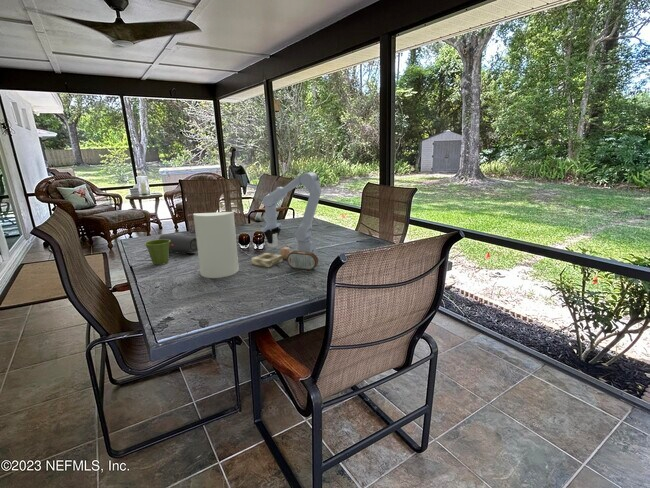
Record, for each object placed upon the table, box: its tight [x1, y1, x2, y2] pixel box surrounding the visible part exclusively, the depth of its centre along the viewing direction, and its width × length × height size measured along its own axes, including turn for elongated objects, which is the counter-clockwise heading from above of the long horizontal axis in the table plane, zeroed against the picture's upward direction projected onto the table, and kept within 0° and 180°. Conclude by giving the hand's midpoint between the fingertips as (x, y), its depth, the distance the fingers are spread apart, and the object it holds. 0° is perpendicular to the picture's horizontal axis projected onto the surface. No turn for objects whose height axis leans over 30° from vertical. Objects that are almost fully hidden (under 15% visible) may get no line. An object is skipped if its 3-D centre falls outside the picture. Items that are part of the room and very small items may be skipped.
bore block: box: [250, 252, 284, 268], centre depth 169 cm, size 11×11×3 cm
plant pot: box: [144, 238, 170, 265], centre depth 170 cm, size 12×12×11 cm
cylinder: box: [192, 211, 240, 279], centre depth 154 cm, size 17×17×28 cm
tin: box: [286, 250, 319, 271], centre depth 158 cm, size 15×3×8 cm, turn 71°
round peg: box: [280, 246, 291, 260], centre depth 176 cm, size 5×5×5 cm
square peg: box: [266, 233, 279, 248], centre depth 181 cm, size 4×4×7 cm
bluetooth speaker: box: [158, 234, 198, 254], centre depth 188 cm, size 23×9×10 cm, turn 68°
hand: (272, 242), depth 182 cm, fingers closed on square peg, 4 cm apart
